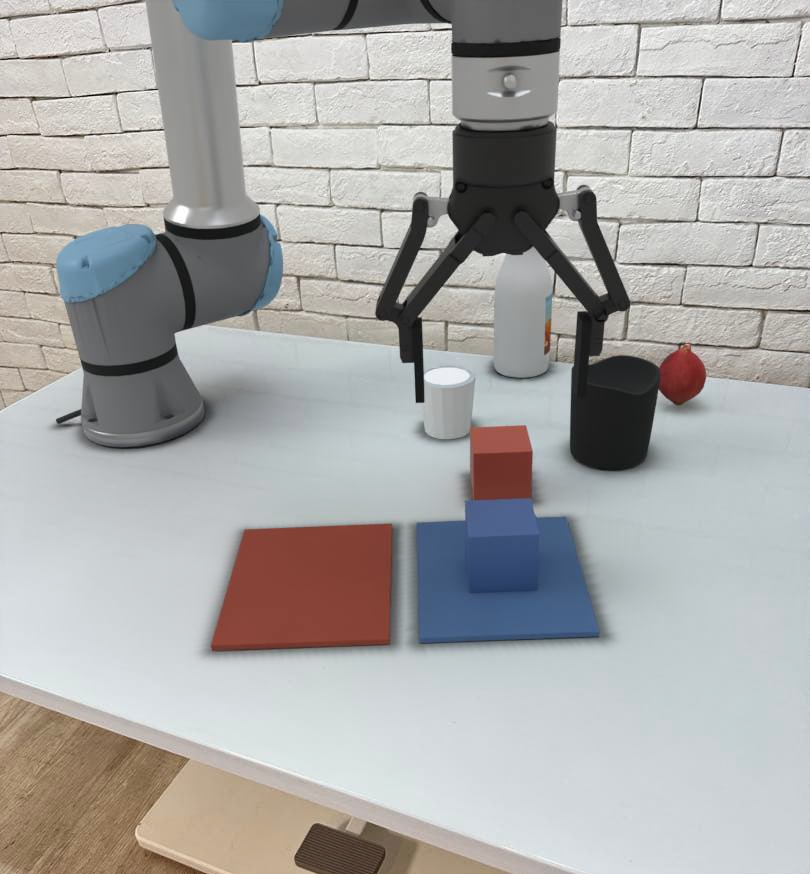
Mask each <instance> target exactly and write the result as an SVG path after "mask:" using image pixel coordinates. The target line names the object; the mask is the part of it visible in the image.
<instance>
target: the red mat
mask: <svg viewBox="0 0 810 874" xmlns="http://www.w3.org/2000/svg"><path fill="white" fill-rule="evenodd" d="M392 554H393V523H391V522H390V523H369V524H345V525H322V526H321V525H320V526H319V525H318V526H295V527H269V528H248V529H247V528H246V529H243V534H242V537H241V542H240V544H239V547H238V550H237V555H236V559H235V561H234V565H233V568H232V572H231V575H230V578H229V582H228V585H227V588H226V592H225V596H224V598H223V603H222V606H221V609H220V612H219V615H218V619H217V622H216V627H215V630H214V633H213V637H212V640H211V644H210V648H211V651H238V650H239V651H240V650H241V651H242V650H266V649H292V648H293V649H294V648H321V647H322V648H323V647H347V646H377V645H379V646H380V645H390V637H391V636H390V635H391V634H390V631H391V595H392V594H391V592H392V562H393V561H392V560H393V559H392V557H393V556H392Z"/></svg>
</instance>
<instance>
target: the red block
mask: <svg viewBox="0 0 810 874" xmlns="http://www.w3.org/2000/svg"><path fill="white" fill-rule="evenodd" d="M533 455H534V451H533V447H532V443H531V439H530V436H529V431H528V428H527V425H526V424H522V425H521V424H520V425H519V424H518V425H500V426H497V425H495V426H476V427H475V426H474V427H472V426H471V428H470V431H469V479H470V485H471V495H472V501H475V500H499V499H523V498H531V499H532V483H533V460H534V459H533Z"/></svg>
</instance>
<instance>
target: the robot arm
mask: <svg viewBox="0 0 810 874" xmlns="http://www.w3.org/2000/svg"><path fill="white" fill-rule="evenodd" d="M145 8H146V14H147V21H148V28H149V36H150V42H151V43H150V44H151V49H152V55H153V56H152V57H153V63H154V64H153V65H154V70H155V76H156V85H157V92H158V98H159V107H160V112H161V113H160V114H161V118H162V126H163V132H164V140H165V147H166V154H167V160H168V161H167V162H168V168H169V174H170V175H169V176H170V181H171V189H172V198H171V200H170V201H169V202H168V203H167V204H166V206H165V207H164V208H163V210H162V216H163V222H164V223H163V224H164V232H160V233H157V234H155V233H154V231H153V230H152V228H151V227H150V226H148V225H145V224H141V223H125V224H123V225H119V226H115V225H112V226H108V227H103V228H101V229H98V230H94V231H91V232H88V233H86V234H84V235H80V236H79V237H77V238H75V239H73V240H72V241H70V242H69V243H67V244H66V245H65V246H64V247H62V249H60V250H59V252H58V254H57V256H56V259H55V269H56V274H57V281H58V284H59V294H60V298H61V299H62V301H63V302H64V306H65V311H66V314H67V317H68V321H69V324H70V325H69V326H70V328H71V333H72V336H73V339H74V342H75V346H76V350H77V354H78V358H79V361H80V365H81V368H82V372H83V381H82V382H83V383H82V395H81V406H80V407H81V408H80V409H77V410H75V411H72V412H70V413H67V414H64V415H63V416H62V415H61V416H60V417H57V418H56V419H55V422H56V424H57V425H60V424H63V423H65V422H67V421H70V420H73V419H75V418H78V417H80V421H81V422H80V423H81V426H82V429H83V432H84V435H85V437H86V438H87V439H88V440H89V441H91V442H92V443H95V444H98V445H101V446H106V447H113V448H135V447H144V446H150V445H155V444H159V443H163V442H166V441H170V440H173V439H176V438H178V437H180V436H182V435H185V434H186V433H188V432H190V431H191V430H192V429H194V428H195V427H197V426H198V425H200V423H201V421H202V420H203V419H204V417H205V406H204V402H203V397H202V394H200V391H199V390H198V388H197V387H196V384H195V383H194V380H193V379H192V377H191V376H190V373H188V370H187V368H186V367H185V364H184V363H183V362H182V359H180V355H179V352H178V346H177V342H176V334H178V333H179V332H183V331H187V330H190V329H194V328H198V327H202V326H206V325H209V324H213V323H217V322H220V321H224V320H225V321H226V320H228V319H232V318H236V317H244V316H247V315H248V314H250V313H251V312H254V311H257V310H260V309H263V308H265V307H267V306H269V305H270V304H271V302H272V301H274V299H276V297H277V295H278V294H279V291H280V289H281V286H282V281H283V275H284V256H283V255H284V254H283V249H282V245H281V243H280V242H278V233H277V231H276V229H275V226H274V225H273V223H272V222H271V221H270V220H269V218H267V217H266V216H264V215H262V214H261V208H260V206H259V204H258V203H257V202H255V201H254V200H253V199H252V198H251V197H250V196H249V195H248V194H247V191H246V179H245V170H244V169H245V168H244V157H243V146H242V145H243V144H242V137H241V126H240V125H241V124H240V114H239V113H240V112H239V103H238V94H237V81H236V80H237V79H236V71H235V59H234V48H233V47H234V46H233V42H237V43H250V42H251V43H252V42H254V41H258V40H261V39H270V38H279V37H289V36H297V35H306V34H316V33H324V32H331V31H332V32H333V31H345V30H346V31H347V30H357V29H358V30H359V29H368V28H369V29H371V28H378V27H379V28H382V27H390V26H391V27H392V26H401V25H419V24H421V25H426V24H448V25H451V43H450V53H451V55H450V56H451V59H450V61H451V113H452V116H453V117H454V118H455V119H457V120H458V121H460V122H458V124H457V125H456V126H455V127H454V129H453V130H452V132H451V133H452V134H451V135H452V137H451V139H452V188H451V192H450V194H449V195H448V197H441V196H428V194H426V192H425V191H418V192H416V193H415V194H414V195H413V198H412V206H411V207H412V208H411V221H410V224H409V225H408V229H407V231H406V233H405V236H404V238H403V239H402V242H401V244H400V247H399V248H398V249H399V250H398V251H397V253H396V256H395V259H394V261H393V263H392V266H391V268H390V270H389V272H388V274H387V277H386V279H385V281H384V283H383V286H382V289H381V291H380V293H379V296H378V298H377V300H376V305H375V311H374V314H375V317H376V319H377V320H379V321H381V322H385V321H388V322H390V323H393V324H395V325H396V327H397V329H398V343H399V345H398V346H399V358H400V360H401V362H402V364H413V371H414V374H413V375H414V397H415V404H421V403H424V370H425V368H424V339H423V338H424V336H423V317H422V316H421V317H420V315H421V314H422V313H423V312H424V310H425V309H426V307H427V306H428V305H429V304H430V303H431V302H432V300H433V299H434V297H435V296H436V295H437V294H438V292H439V291H440V290H441V289H442V288H443V286H444V285H445V284H446V283H447V282H448V281H449V279H450V278H451V277H452V276H453V274H454V273H455V272H456V270H457V269H458V268H459V267H460V266H461V265H462V264H464V262H465V261H466V260H467V259H468V258H469V256H470V255H471V254H472V253H473V251H474V252H475V253H476V254H480V255H482V257H495V256H498V255H502V254H505V255H506V254H510V255H523V253H524V252H526V251H528V250H530V249H531V248H532V247H534V248H535V249H536V250H537V251H538V253H539V254H540V255H541V256H542V257H543V259H544V260H545V261H546V264H548V265H549V266H550V268H551V269H552V270H553V272H555V274H556V275H557V276H558V278H559V279H560V280H561V281H562V282H563V283H564V285H565V286H566V287H567V288H568V290H569V291H570V292H571V293H572V295H573V296H574V297H575V298H576V299H577V300H578V302H579V303H580V304H581V305H582V307H583V308H584V309H585V310H581V311H579V310H578V311H577V312H576V325H575V337H574V339H575V340H574V341H575V342H574V353H573V366H574V367H573V366H572V367H573V381H572V385H573V388H574V391H575V394H576V396H577V398H583V397H586V390H587V378H588V365H589V364H590V357H600V355H601V354H602V352H603V346H604V336H605V334H604V333H605V323H606V322H607V321H608V319H609V317H610V315H613V314H614V313H617V312H621V313H624V312H626V311H627V310H628V309H630V307H631V300H630V298H629V294H628V293H627V290H626V288H625V286H624V283H623V280H622V278H621V275H620V273H619V271H618V268H617V266H616V264H615V262H614V259H613V256H612V254H611V252H610V251H611V250H610V249H609V246H608V244H607V242H606V240H605V237H604V235H603V232H602V230H601V228H600V225H599V222H598V203H597V202H598V201H597V199H598V198H597V195H596V193H595V192H594V191H593V190H592V188H591V187H590V186H589V185H587V184H581V185H578V187H577V188H576V189H575V190H574V189H573V190H569V191H563V192H562V191H561V192H557V190H556V187H555V173H556V172H555V171H556V153H557V152H556V151H557V134H558V133H557V132H558V127H556V126H555V123H554V122H553V121H550V117H552V116H553V115H555V114H556V113H557V112H558V109H559V108H558V107H559V85H560V84H559V83H560V62H561V61H560V60H561V59H560V55H561V43H562V35H561V33H562V18H563V17H562V16H563V0H145ZM560 210H563V211H565V212H566V215H567V216H568V218H569V219H570V221H572V222H577V223H578V226H579V229H580V231H581V233H582V236H583V239H584V240H585V243H586V245H587V249H588V250H589V252H590V255H591V257H592V259H593V262H594V264H595V266H596V269H597V271H598V273H599V276H600V278H601V281H602V282H603V285H604V288H605V290H606V292H607V293H604V294H602V295H598V293H597V292H595V290H594V289H593V287H592V286H591V285H590V284H589V282H588V281H587V280H586V279H585V278H584V276H583V275H582V274H581V272H580V271H579V270H578V268H577V267H576V266H575V265H574V264H573V263H572V261H571V260H570V258H569V257H568V256H566V254H565V253H564V251H563V250H562V249H561V248H560V246H558V244H557V242H556V241H554V238H553V237H552V236H551V235H550V234H549V232H548V231H547V228H548V227H549V226H550V224H552V221H553V220H554V219H555V217H556V216H557V214H558V213H559V211H560ZM445 215H447V217H448V218H449V219H450V221H451V222H452V223H453V225H454V226H455V228H456V229H457V231H456V232H455V234H454V235H453V236H452V238H451V239H450V240H449V242H448V244H447V246H446V247H445V248H444V250H443V251H442V253H440V255H439V256H438V257H437V259H436V260H435V262H433V264H432V265H431V266H430V267H429V269H428V270H427V271H426V272H425V274H424V275H423V276H422V278H421V279H420V280H419V282H418V283H416V285H415V286H414V287H413V289H412V291H410V293H409V294H408V296H406V298H405V299H404V300H403V302H402V303H400V302H398V299H399V296H400V294H401V292H402V291H403V287H404V285H405V283H406V281H407V279H408V276H409V274H410V272H411V270H412V267H413V265H414V263H415V261H416V258H417V256H418V254H419V251H420V249H421V247H422V245H423V243H424V240H425V237H426V234H427V230H428V228H431V229H432V228H434V227H435V226H437V224H438V221H439V219H440V218H441V217H442V216H445Z"/></svg>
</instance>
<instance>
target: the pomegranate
mask: <svg viewBox="0 0 810 874" xmlns="http://www.w3.org/2000/svg"><path fill="white" fill-rule="evenodd" d="M658 367H659V369H660V370H661V378H660V384H659V390H658V392H660V393H661V395H662V396H663V397H664V398H665V399H667V400H668V401H669V402H671V403H672V404H674V405H675V406H682V405H684V404H685V403H686V402H688V401H690V400H691V399H694V398H695V397H697V396H698V395H699V394H700V393H701V392H702V390H703V389H704V387H705V384H706V380H707V369H706V366H705V364H704V362H703V361H702V360H701V358H700V357H699V356H698V355H697V353H694V352H693V351H692V345H691V343H685V344H683V345H682V346H681V347H679V348H678V349H677V350H675V351H673V352H671V353H670V354H668V355H667V356H666V357H665V358H664V359H663V360H662V361H661V363H660V365H659V366H658Z"/></svg>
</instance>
